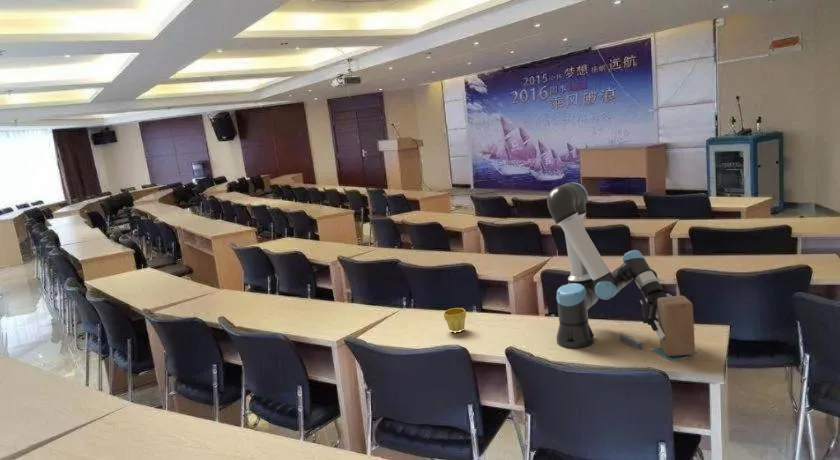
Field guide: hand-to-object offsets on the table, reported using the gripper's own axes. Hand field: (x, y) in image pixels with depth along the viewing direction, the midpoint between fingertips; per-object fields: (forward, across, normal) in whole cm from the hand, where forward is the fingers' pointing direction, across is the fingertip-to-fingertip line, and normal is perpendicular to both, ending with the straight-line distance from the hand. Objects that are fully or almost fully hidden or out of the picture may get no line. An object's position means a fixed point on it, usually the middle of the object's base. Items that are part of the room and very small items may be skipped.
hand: (677, 334), depth 204 cm
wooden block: (+4, 0, -6) cm, 7 cm away
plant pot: (-45, +64, -57) cm, 97 cm away
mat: (+4, 0, -7) cm, 8 cm away
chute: (-6, 0, -18) cm, 19 cm away
